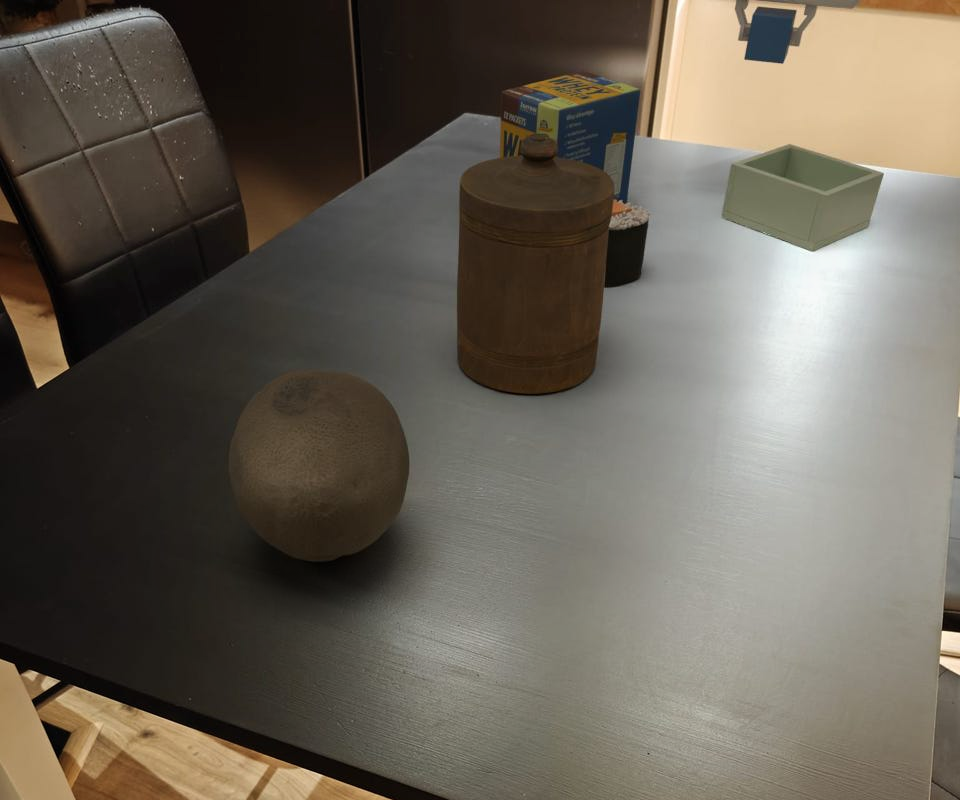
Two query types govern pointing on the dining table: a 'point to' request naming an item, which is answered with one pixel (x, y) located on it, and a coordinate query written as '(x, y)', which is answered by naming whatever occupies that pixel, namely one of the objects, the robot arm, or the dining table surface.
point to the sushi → (625, 243)
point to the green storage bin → (801, 196)
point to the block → (770, 34)
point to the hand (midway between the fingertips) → (768, 42)
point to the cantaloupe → (319, 464)
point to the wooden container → (531, 268)
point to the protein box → (576, 122)
